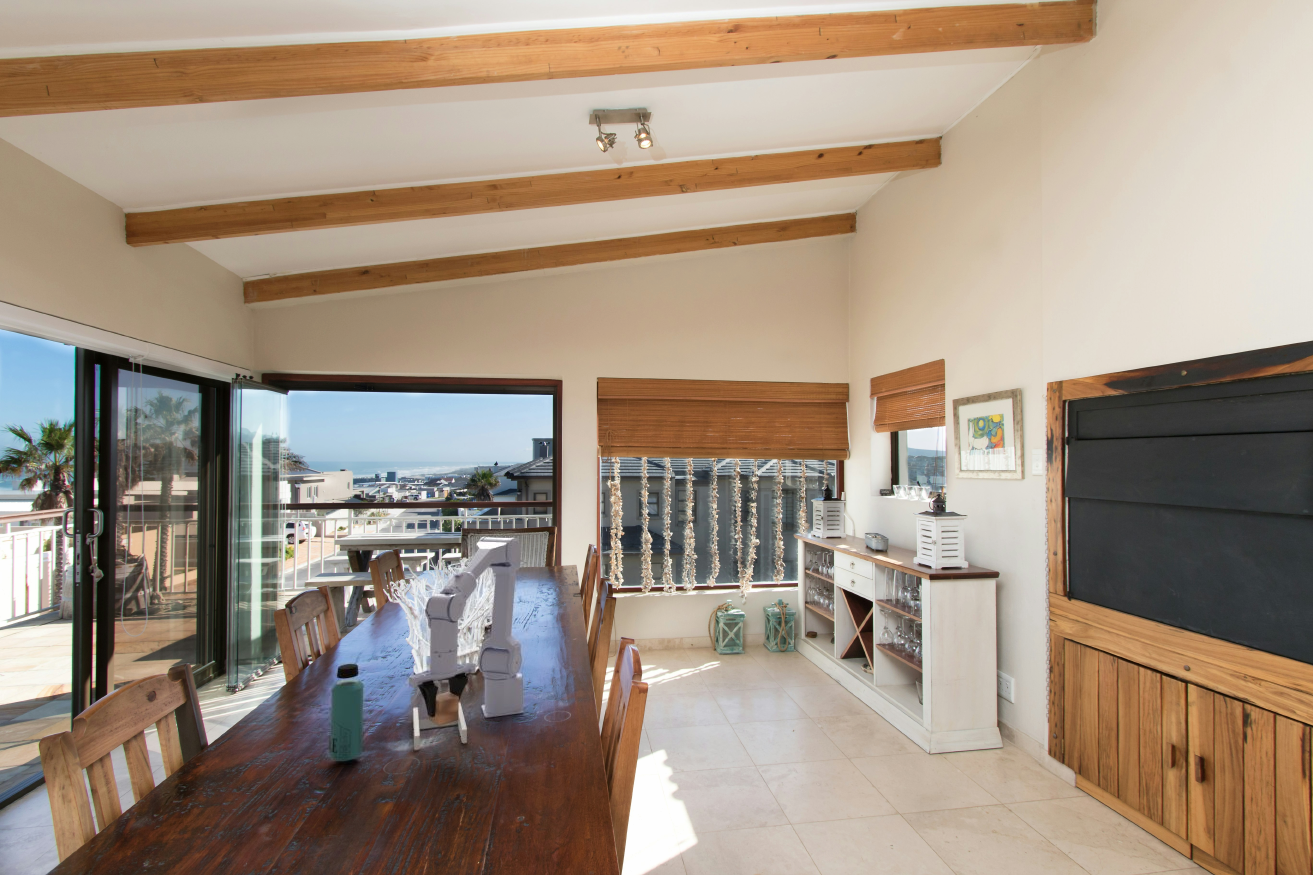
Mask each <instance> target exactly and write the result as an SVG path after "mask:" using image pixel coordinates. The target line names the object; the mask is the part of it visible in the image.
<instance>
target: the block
mask: <svg viewBox="0 0 1313 875" xmlns="http://www.w3.org/2000/svg"><path fill="white" fill-rule="evenodd" d="M459 702H460V700H459V697H458V696H456V695H454V694H452V693H450V691H446V692H442V693H437V696H436V712H435V717H430V716H428V719H429V720H430V721H431V722H433V723H435V724H436V725H438V726H441V725H444V724H447V723H451V722H454V721H457V720H458V716H459Z"/></svg>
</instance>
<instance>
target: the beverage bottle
mask: <svg viewBox="0 0 1313 875" xmlns="http://www.w3.org/2000/svg"><path fill="white" fill-rule="evenodd" d="M358 676H359V665H358V664H356V663H346V664H345V663H344V664H341V665H339V666H338V667H337V673H336V678H338V679H342V680H339V681H337V682H336V683H335V684H334V685H332V688H331V689H330V692H331V695H330V696H331V703H330V723H329V724H330V725H329V728H330V732H329V742H328V743H329V744H328V745H329V751H328V752H329V757H330V759H331V760H332V761H336V762H345V761H350V760H353V759H357V758H358V757H360V756H361V755H362V753H363V750H364V735H365V734H364V721H365V720H364V688H365V685H364V683H363V682H361V680H359V679H357V678H356V677H358Z"/></svg>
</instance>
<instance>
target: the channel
mask: <svg viewBox="0 0 1313 875" xmlns="http://www.w3.org/2000/svg"><path fill="white" fill-rule="evenodd" d="M412 710H413V712H412V723H413V724H412V725H413V726H412V727H413V728H412V730H413V729H414V730H413V745H414V746H413V748H414V751H419V750H420V740H421V738H420V731H425V729H427V730H434V729H440V728H449V727H455V726H457V727H458V731H459V737H460V736H461V737H460V741H461V744H462V743H463V744H467V741H468V740H467V738H468V728H467V724H466V720H465V715H464V713H463V711H464V710H463V708H462V704H461V701H459V716H458V720H457V721H454V722H451V723H447V724H444V725H441V726H438V725H436V724H435V723H433V722H431V721H430V720H429V718H423V719H419V707H413V709H412Z"/></svg>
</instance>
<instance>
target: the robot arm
mask: <svg viewBox="0 0 1313 875" xmlns="http://www.w3.org/2000/svg"><path fill="white" fill-rule="evenodd" d="M474 550H475V551H474V552H475V554H474V556H473V557H472V558H471V560H470V562H469V563H468V564H467V566H466V567H465V568H464V570H461V571H457V572H455V573H454V576H453V577H451V579H450V580H449V581H448V583H446V585H445V586H444V588H443V589H442V590H440V593H434V594H433V595H432V596H430V597H429V598H428V600H427V602H426V605H425V608H424V614H425V617H426V619H427V627H428V629H429V630H430V635H429V636H430V637H429V638H430V640H429V641H430V642H429V669H427V670H424V671H422V672H419V673H416V674H412V675H409V676H408V686H410V687H411V688H417V687H418V690H419V691H420V693H421V696H422V698H423V700H424V704H425V707H426V711H427V712H426V713H427V717H429V716H430V717H435V712H436V696H437V695H438V690H439V686H437V685H436V683H434V682H436V681H441V680H445V679H447V681H448V687H449V692H450V693H452V694H454V695H456V696H458V697H459V701H460V700H461V697H462V694H463V692H464V690H465V688H466V686H467V684H468V683H469V676H467V674H475V673H476V672H477V670H476V668H477V667H478V669H479V671H480V672H481V674H482V677H484V679H485V680H484V704H482V705H481V710H482V712H483V716H484V718H493V717H500V716H501V717H502V716H510V715H517V714H523V713H524V678H523V675H522V673H521V672H520V670H521V667H522V663H523V656H522V648H521V647H522V646H521V645H522V644H521V643H520V642H519V640H517V639H516V638H515V637H513V635H512V632H513V630H512V629H513V616H514V600H515V590H516V589H515V588H516V576H517V575H516V574H517V571H518V570H519V569H520V568H521V561H522V560H521V559H522V545H521V543H520V541H519V539H518V538H517V537H491V536H490V537H488V536H482V537H480V539H479V540H478V542H477V543H476V544H475V549H474ZM488 568H490V569H491V570H492V571H493V572H494V574H495V579H494V591H493V604H492V615H491V631H490V636H489V637H488V638H487V639H485V640H484V641H483V642H482V643H481V646H480V652H479V654H478V659H477V664H476V663H474V662H472V661H470V662H465V663H458V647H459V646H458V645H459V644H458V642H459V641H458V640H459V633H458V632H459V620H460V619H461V618H462V617H463V614H464V611H465V607H466V606H467V600H469V598H470V596H471V595H472V594H473V593H474V591H476V589H477V586H478V584H477V583H478V582H477V580H478V579H479V577H481V575H483V573H485V571H486V570H487V569H488ZM476 665H477V667H476Z"/></svg>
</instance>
